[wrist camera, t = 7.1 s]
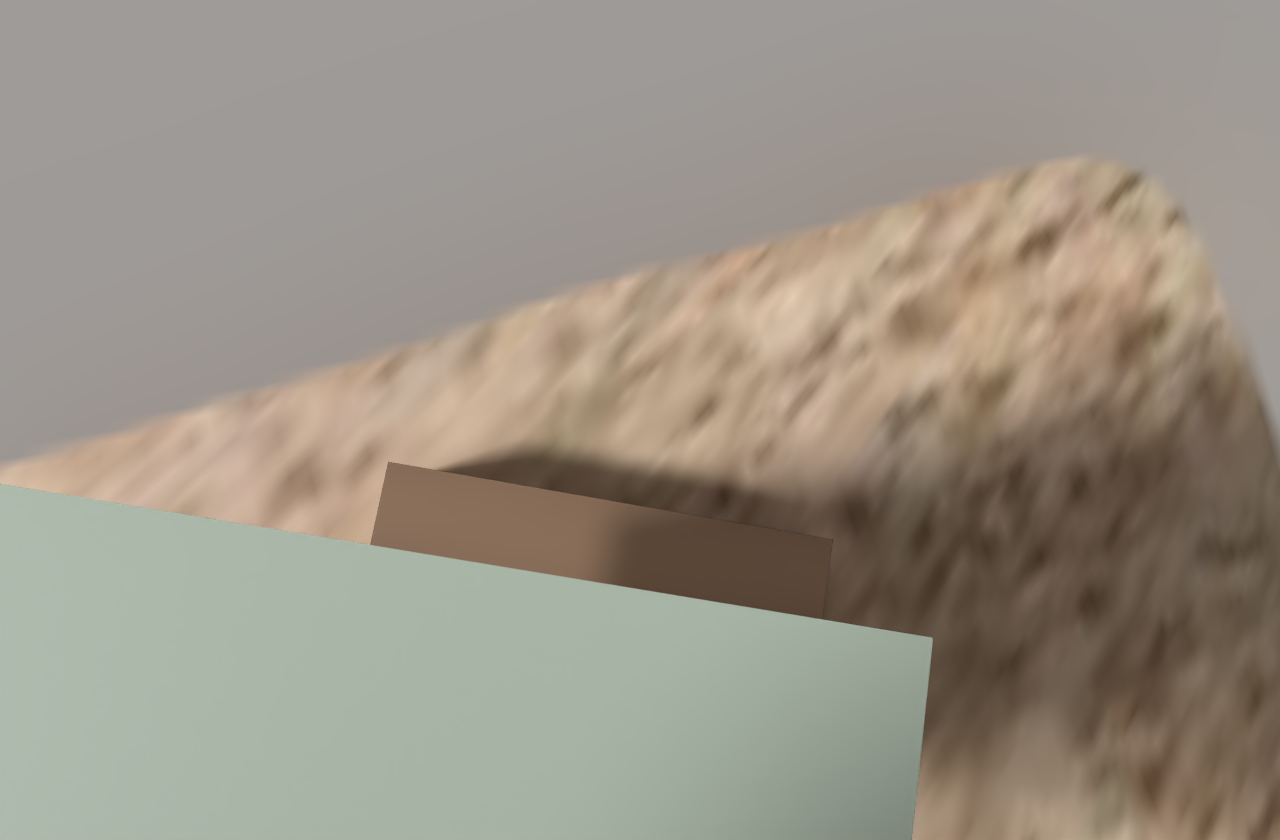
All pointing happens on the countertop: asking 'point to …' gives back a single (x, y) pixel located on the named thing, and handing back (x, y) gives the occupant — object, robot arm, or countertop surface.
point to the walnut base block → (601, 541)
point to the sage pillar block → (419, 696)
